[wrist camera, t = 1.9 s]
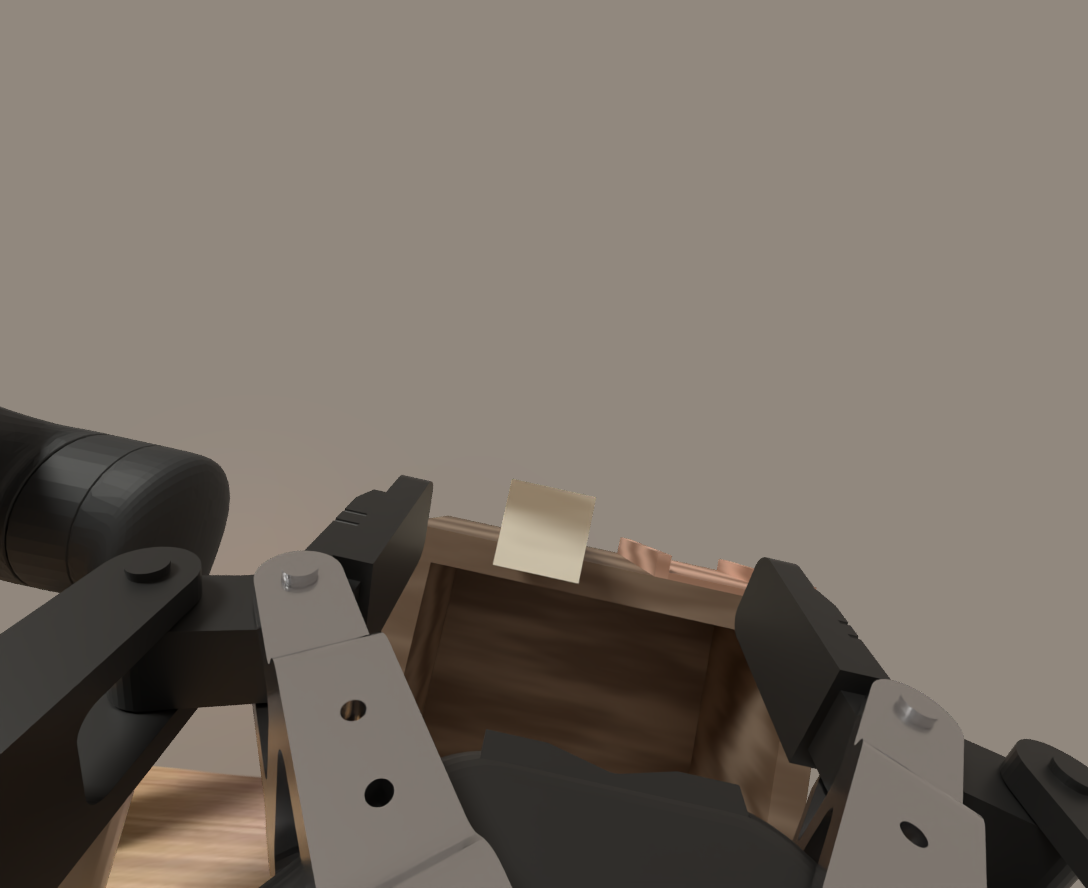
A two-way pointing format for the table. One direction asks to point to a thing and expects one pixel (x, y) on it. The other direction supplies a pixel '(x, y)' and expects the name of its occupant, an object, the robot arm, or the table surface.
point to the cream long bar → (544, 531)
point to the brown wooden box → (592, 663)
